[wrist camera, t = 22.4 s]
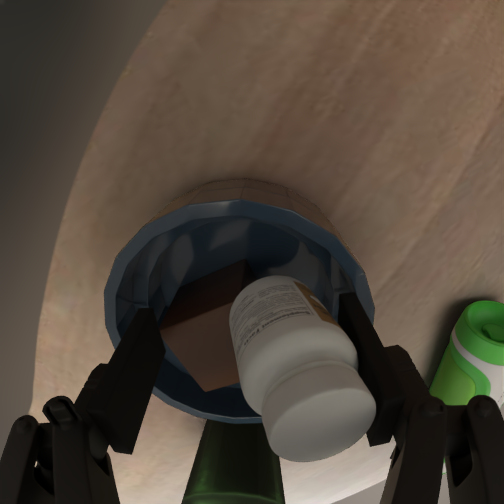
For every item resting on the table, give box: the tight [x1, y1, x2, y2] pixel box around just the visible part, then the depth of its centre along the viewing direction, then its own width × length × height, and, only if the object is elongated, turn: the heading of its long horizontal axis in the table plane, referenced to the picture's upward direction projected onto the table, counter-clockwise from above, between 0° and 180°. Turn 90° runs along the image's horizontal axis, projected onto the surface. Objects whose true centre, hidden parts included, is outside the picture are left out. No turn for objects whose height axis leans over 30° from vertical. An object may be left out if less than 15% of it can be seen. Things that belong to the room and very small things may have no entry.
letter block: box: [159, 259, 257, 392], centre depth 18 cm, size 5×5×5 cm
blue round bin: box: [104, 179, 375, 424], centre depth 18 cm, size 14×14×6 cm
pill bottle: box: [229, 275, 376, 462], centre depth 12 cm, size 4×4×8 cm
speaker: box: [429, 300, 504, 475], centre depth 21 cm, size 18×7×8 cm, turn 3°
